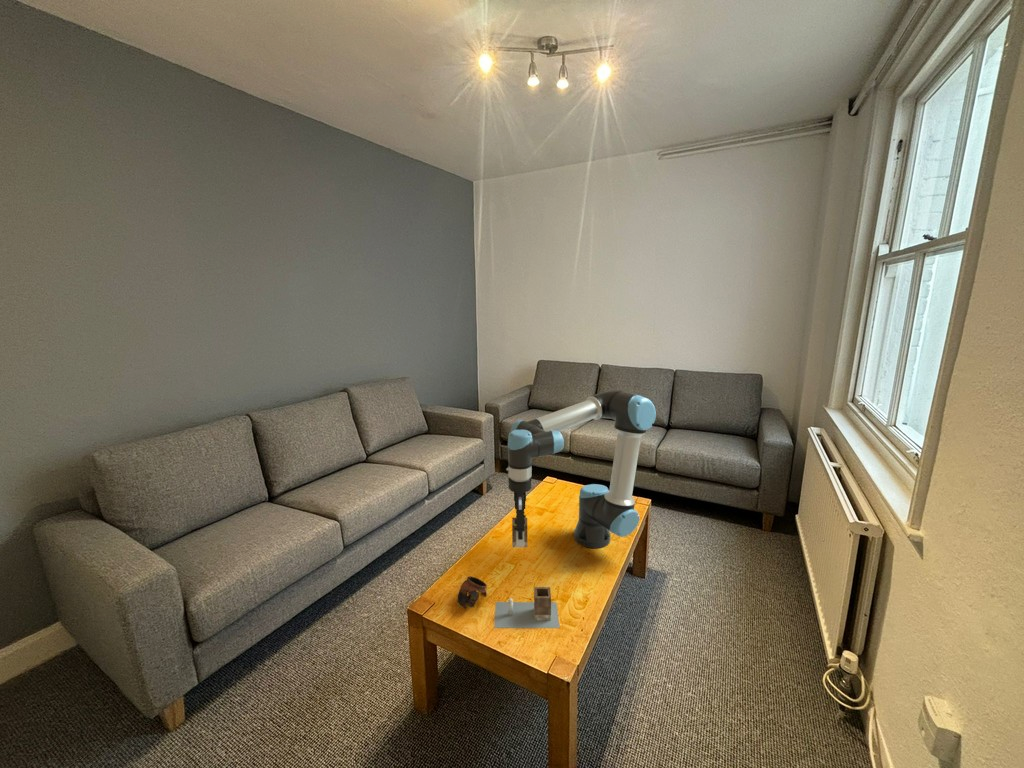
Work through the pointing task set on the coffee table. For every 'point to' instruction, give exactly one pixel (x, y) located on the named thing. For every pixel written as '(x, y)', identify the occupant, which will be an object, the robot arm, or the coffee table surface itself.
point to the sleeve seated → (542, 603)
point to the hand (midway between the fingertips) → (520, 541)
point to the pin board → (522, 615)
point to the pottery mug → (470, 591)
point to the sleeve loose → (514, 525)
